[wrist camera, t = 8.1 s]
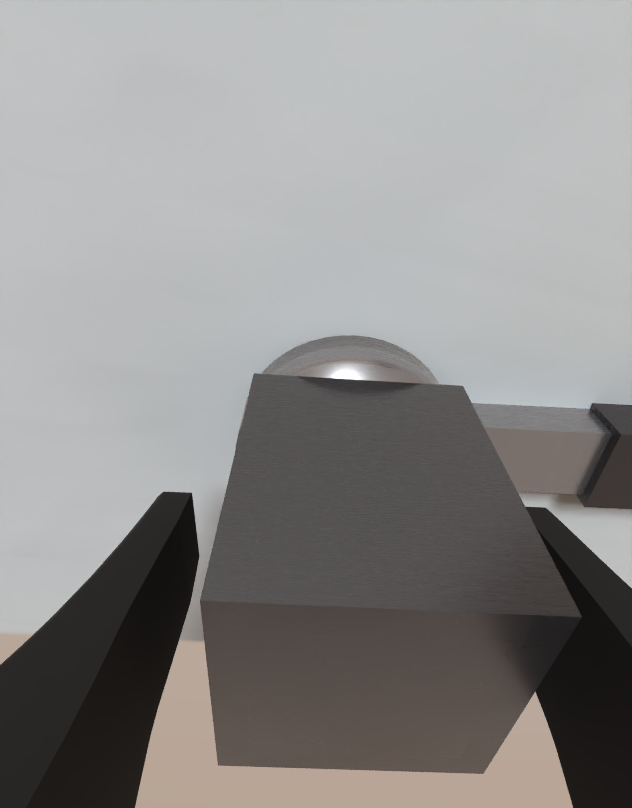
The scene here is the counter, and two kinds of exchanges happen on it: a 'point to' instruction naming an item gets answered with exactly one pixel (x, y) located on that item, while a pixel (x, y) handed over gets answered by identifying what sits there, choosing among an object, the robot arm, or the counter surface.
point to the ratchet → (500, 423)
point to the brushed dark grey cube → (373, 583)
